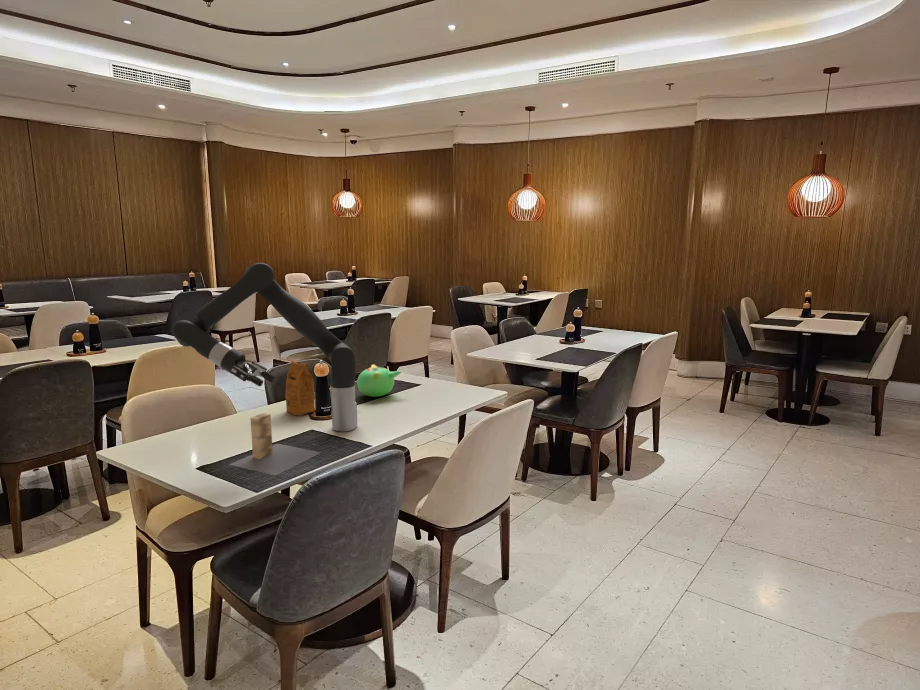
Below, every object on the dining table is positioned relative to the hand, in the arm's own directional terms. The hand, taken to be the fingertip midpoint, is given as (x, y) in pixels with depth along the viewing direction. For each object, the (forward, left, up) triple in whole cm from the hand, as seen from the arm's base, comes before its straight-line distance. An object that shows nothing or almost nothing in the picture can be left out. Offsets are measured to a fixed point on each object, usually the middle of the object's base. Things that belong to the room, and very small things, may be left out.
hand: (268, 381), depth 191 cm
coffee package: (-44, -27, -26) cm, 58 cm away
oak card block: (+2, -3, -26) cm, 26 cm away
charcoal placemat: (+2, +3, -26) cm, 26 cm away
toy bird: (-80, -12, -26) cm, 85 cm away
